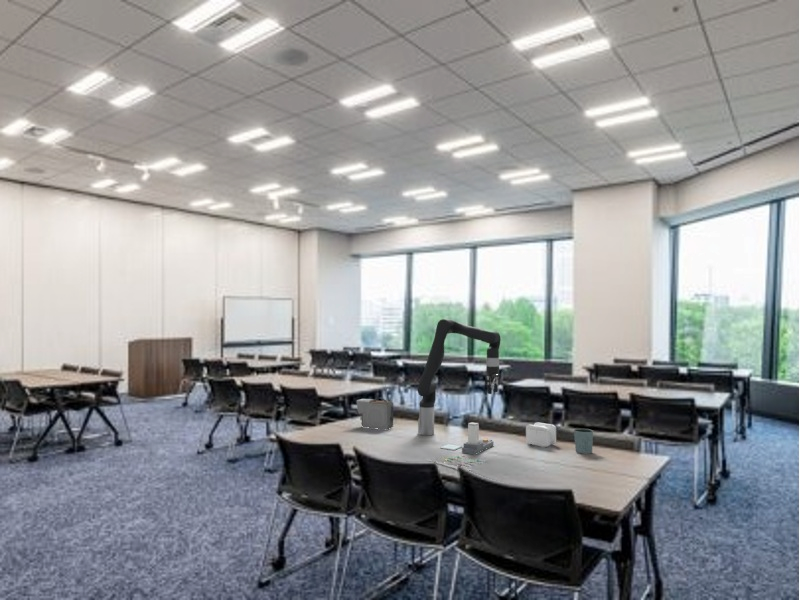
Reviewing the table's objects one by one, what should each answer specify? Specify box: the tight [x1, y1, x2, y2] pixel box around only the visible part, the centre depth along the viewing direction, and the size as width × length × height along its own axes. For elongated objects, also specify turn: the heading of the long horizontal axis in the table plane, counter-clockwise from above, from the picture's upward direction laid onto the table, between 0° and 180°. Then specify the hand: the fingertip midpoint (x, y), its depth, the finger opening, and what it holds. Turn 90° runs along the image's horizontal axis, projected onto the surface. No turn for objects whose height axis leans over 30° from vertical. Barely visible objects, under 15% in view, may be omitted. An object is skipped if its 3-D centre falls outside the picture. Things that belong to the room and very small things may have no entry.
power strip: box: [461, 438, 494, 455], centre depth 307 cm, size 8×30×4 cm, turn 147°
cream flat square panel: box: [445, 455, 486, 467], centre depth 279 cm, size 30×30×2 cm
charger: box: [467, 422, 480, 445], centre depth 300 cm, size 4×4×13 cm
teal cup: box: [573, 428, 594, 455], centre depth 298 cm, size 10×10×12 cm
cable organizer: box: [525, 421, 557, 448], centre depth 315 cm, size 15×11×12 cm
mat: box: [439, 443, 463, 451], centre depth 307 cm, size 9×9×1 cm
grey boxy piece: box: [356, 384, 394, 430], centre depth 364 cm, size 12×24×30 cm, turn 67°
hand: (492, 393), depth 320 cm, fingers open, 8 cm apart
